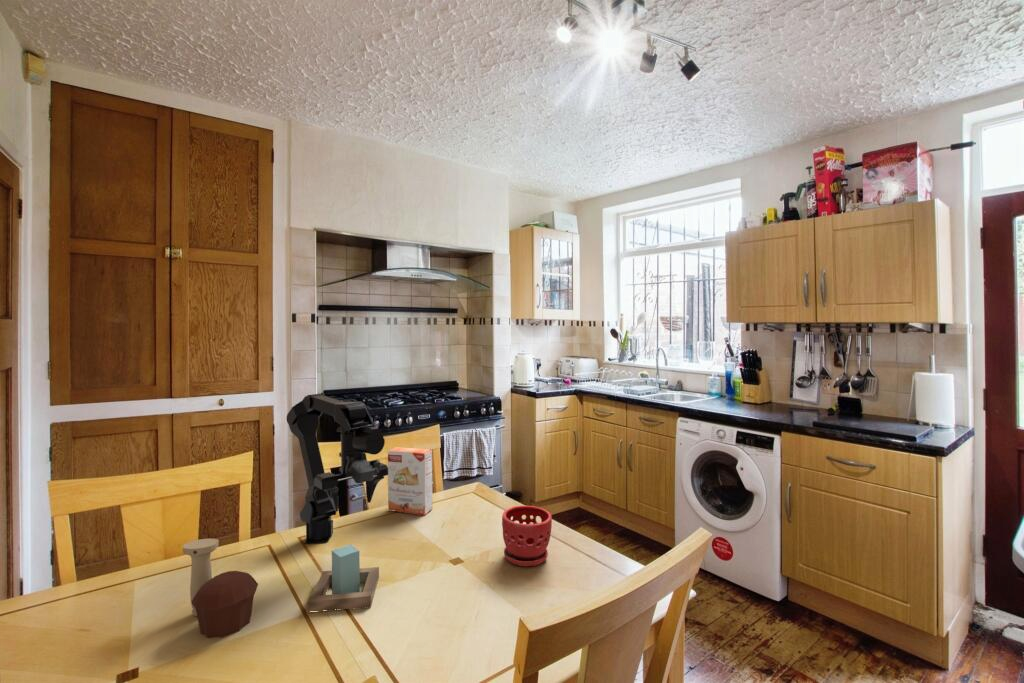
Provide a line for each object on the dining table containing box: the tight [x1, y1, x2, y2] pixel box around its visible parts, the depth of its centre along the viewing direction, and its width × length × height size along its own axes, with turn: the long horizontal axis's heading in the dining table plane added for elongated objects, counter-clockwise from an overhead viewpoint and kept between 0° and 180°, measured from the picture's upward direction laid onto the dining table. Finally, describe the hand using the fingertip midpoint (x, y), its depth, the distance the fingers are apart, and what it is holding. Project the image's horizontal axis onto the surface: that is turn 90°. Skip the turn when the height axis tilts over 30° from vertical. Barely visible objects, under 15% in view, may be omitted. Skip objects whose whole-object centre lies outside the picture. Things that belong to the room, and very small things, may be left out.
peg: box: [331, 544, 361, 595], centre depth 107 cm, size 4×4×10 cm
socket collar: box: [307, 566, 380, 613], centre depth 107 cm, size 13×13×2 cm
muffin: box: [190, 570, 259, 639], centre depth 96 cm, size 12×11×10 cm
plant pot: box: [501, 505, 553, 567], centre depth 123 cm, size 13×13×12 cm
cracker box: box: [387, 446, 433, 516], centre depth 158 cm, size 14×6×21 cm, turn 73°
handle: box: [182, 538, 220, 618], centre depth 99 cm, size 5×6×15 cm
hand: (353, 506), depth 126 cm, fingers open, 9 cm apart
